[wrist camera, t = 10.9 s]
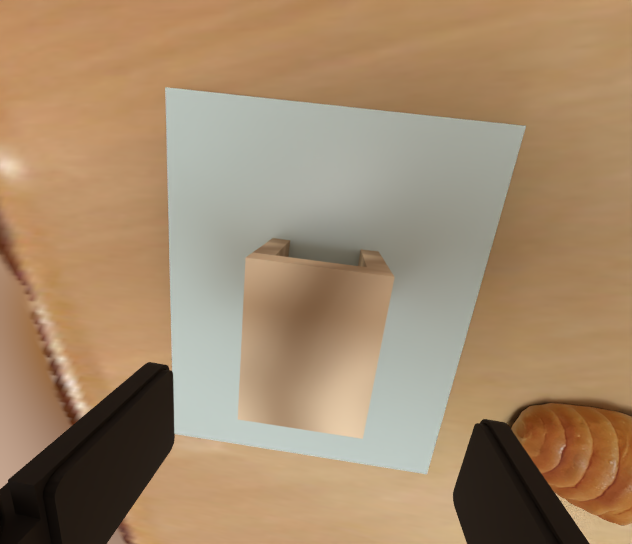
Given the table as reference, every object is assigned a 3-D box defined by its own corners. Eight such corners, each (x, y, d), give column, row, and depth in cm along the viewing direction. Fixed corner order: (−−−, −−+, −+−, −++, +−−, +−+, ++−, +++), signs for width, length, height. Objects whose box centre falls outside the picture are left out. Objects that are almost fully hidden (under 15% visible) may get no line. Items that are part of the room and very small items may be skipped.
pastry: (483, 452, 21) (513, 507, 17) (532, 375, 19) (578, 418, 15) (605, 494, 21) (661, 557, 17) (665, 421, 19) (742, 475, 16)
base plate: (514, 130, 15) (564, 112, 12) (422, 461, 21) (438, 512, 18) (175, 93, 16) (132, 67, 13) (180, 423, 22) (152, 465, 19)
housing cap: (378, 251, 16) (394, 277, 12) (356, 374, 19) (362, 438, 14) (272, 238, 17) (245, 257, 12) (263, 360, 19) (237, 419, 14)
